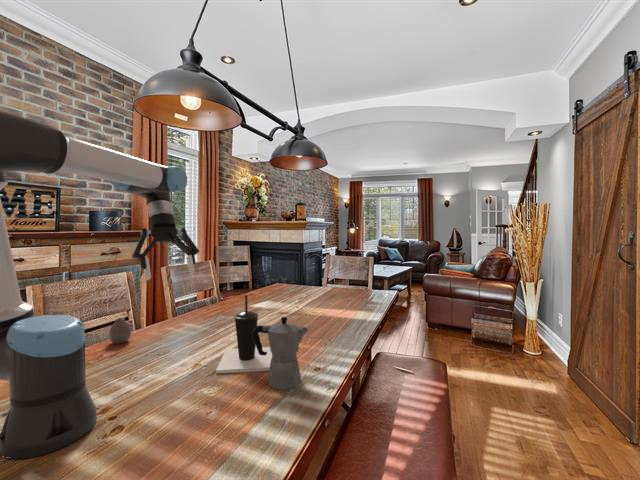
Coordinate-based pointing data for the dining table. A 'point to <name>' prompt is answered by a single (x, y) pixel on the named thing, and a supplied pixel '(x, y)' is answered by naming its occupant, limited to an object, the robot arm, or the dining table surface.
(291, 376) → the coffeepot
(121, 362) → the dining table surface
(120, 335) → the grey rounded lump
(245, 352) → the drinking cup
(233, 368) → the tile
